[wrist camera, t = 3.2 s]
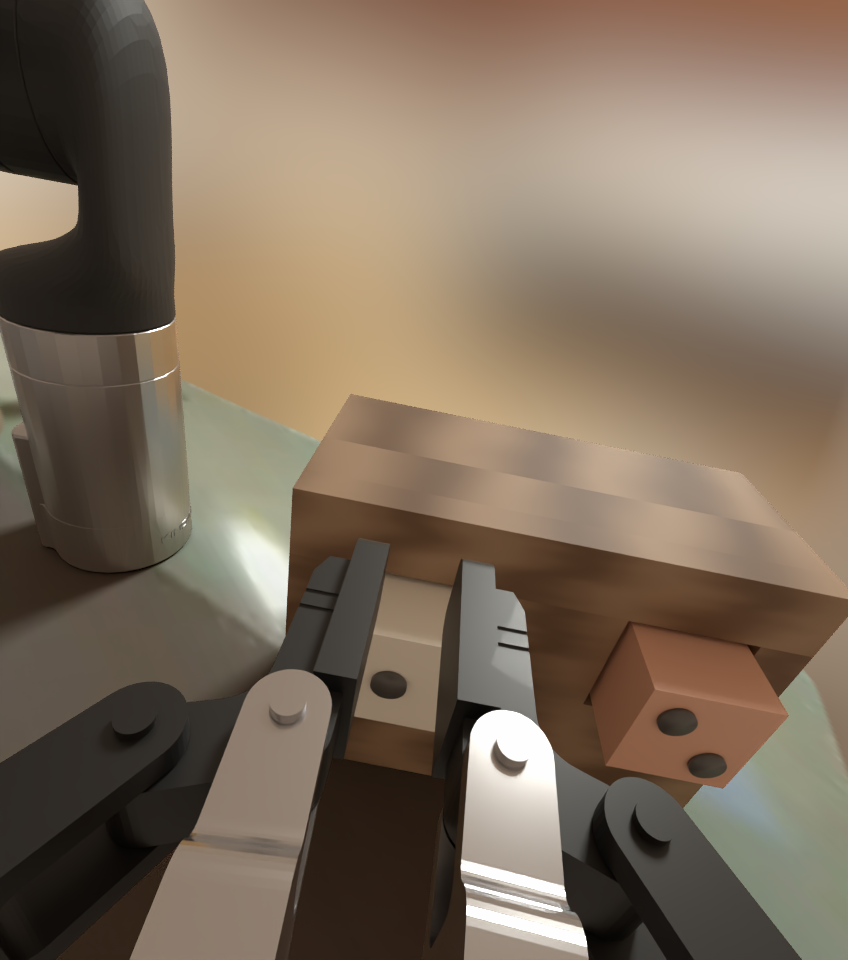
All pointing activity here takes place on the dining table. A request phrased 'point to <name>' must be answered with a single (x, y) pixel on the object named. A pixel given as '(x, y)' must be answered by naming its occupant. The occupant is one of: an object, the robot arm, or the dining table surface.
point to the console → (561, 555)
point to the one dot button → (405, 654)
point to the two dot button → (682, 705)
